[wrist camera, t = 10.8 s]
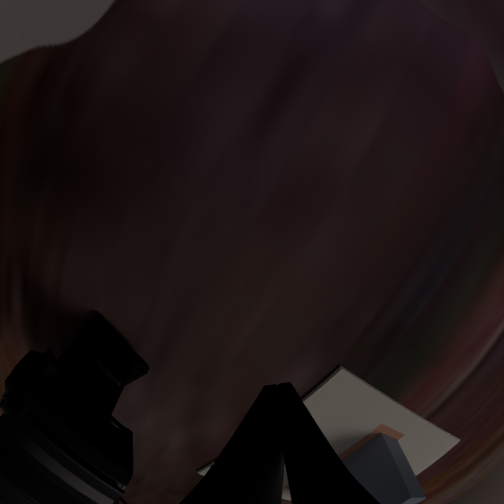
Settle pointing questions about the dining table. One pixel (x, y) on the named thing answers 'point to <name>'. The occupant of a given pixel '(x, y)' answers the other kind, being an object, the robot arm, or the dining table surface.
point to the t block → (385, 471)
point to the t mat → (369, 422)
